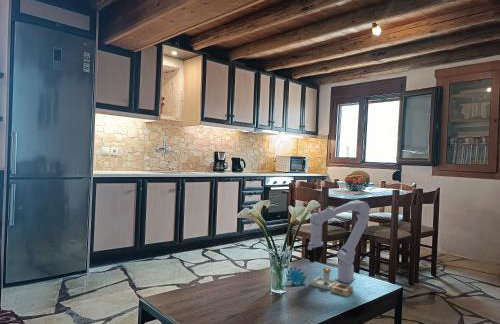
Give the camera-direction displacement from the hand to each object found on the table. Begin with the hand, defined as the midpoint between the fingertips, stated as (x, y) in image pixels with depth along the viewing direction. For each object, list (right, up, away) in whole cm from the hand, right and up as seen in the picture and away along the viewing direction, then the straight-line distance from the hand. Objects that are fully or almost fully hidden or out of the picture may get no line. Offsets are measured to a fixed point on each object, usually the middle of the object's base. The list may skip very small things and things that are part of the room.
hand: (315, 260), depth 189 cm
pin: (+4, -10, -7) cm, 13 cm away
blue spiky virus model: (-11, -10, -6) cm, 16 cm away
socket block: (+10, -11, -16) cm, 22 cm away
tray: (+3, -11, -7) cm, 13 cm away
